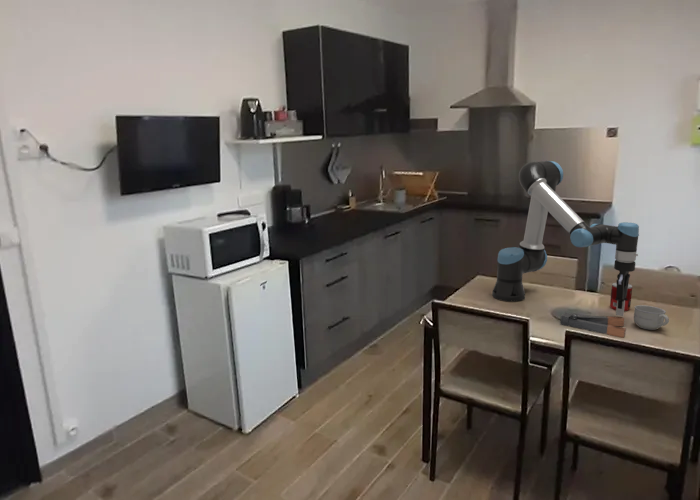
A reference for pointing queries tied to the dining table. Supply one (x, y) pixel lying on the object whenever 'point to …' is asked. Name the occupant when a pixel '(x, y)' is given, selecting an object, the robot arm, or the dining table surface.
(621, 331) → the tongs base
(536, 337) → the dining table surface
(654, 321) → the teacup
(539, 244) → the robot arm
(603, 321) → the arm
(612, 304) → the canned food
